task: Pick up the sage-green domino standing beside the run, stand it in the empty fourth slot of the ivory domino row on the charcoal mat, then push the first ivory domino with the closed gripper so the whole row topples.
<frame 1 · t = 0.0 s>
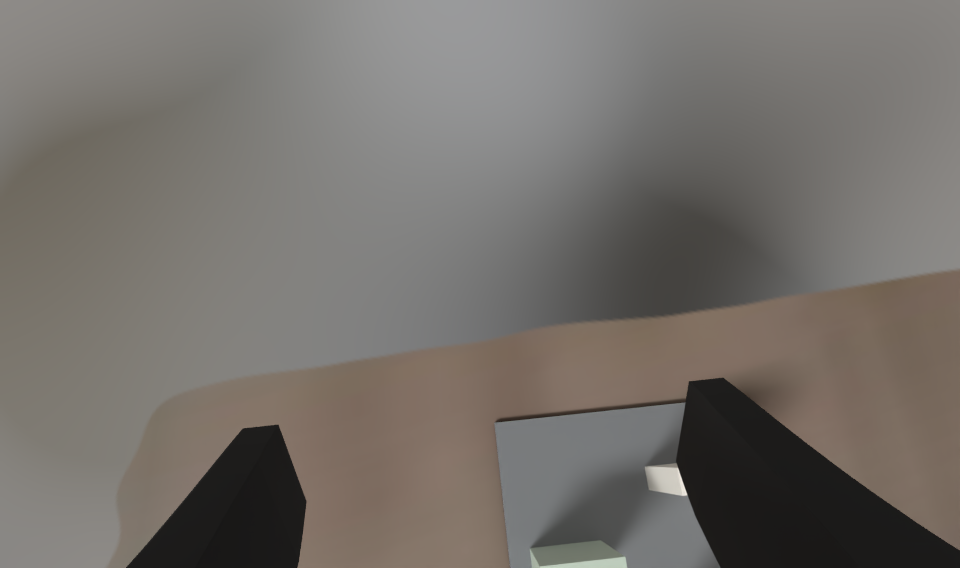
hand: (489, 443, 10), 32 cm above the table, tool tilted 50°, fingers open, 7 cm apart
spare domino: (567, 556, 38), resting on mat
domino 5: (680, 474, 40), resting on mat
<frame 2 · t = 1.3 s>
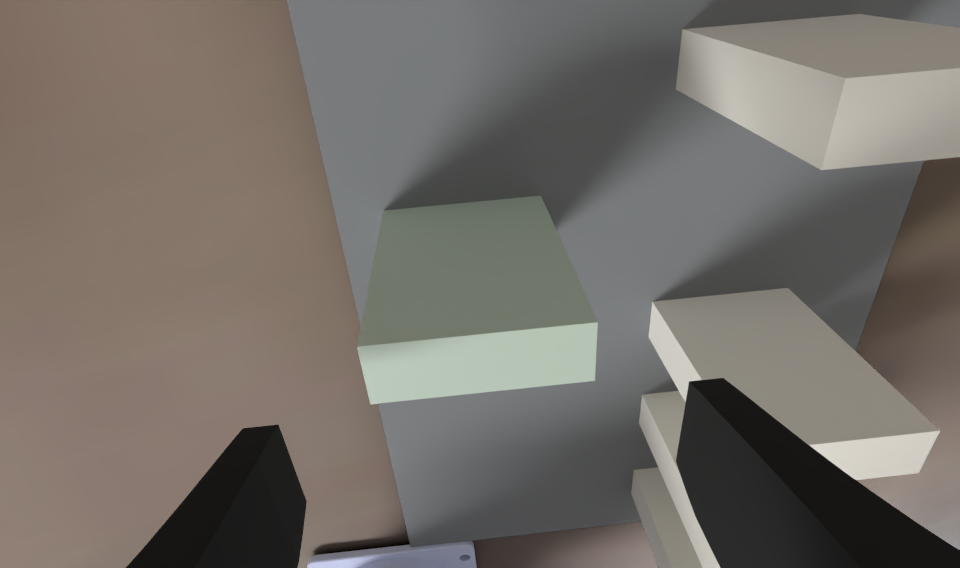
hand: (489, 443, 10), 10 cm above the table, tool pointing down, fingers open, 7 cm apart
domino 2: (700, 402, 23), resting on mat
mat: (622, 293, 20), on the table
domino 1: (686, 475, 25), resting on mat
domino 3: (716, 312, 20), resting on mat
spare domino: (464, 225, 18), resting on mat
domino 5: (765, 52, 16), resting on mat
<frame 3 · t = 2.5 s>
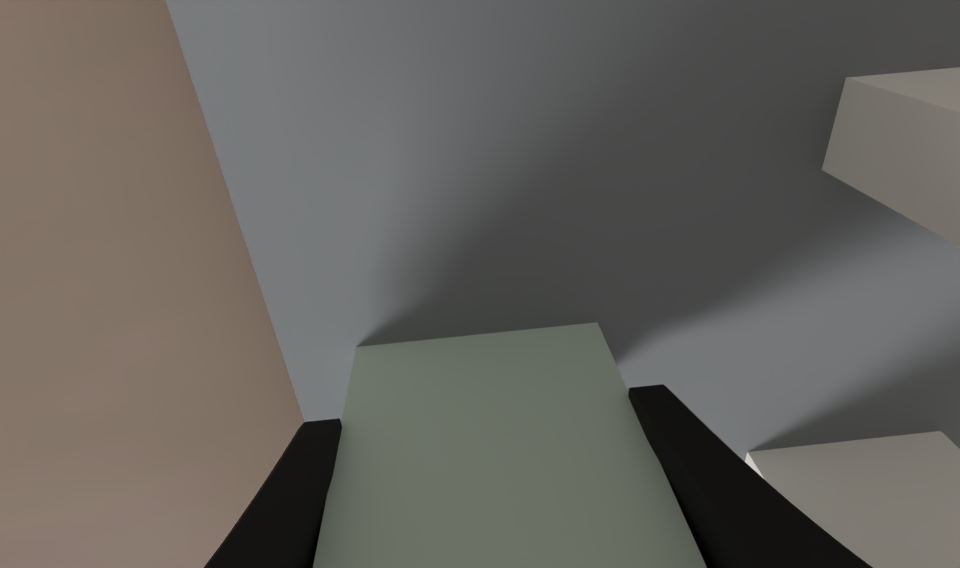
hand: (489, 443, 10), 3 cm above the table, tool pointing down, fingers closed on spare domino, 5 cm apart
mat: (702, 438, 14), on the table
domino 3: (836, 462, 14), resting on mat
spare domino: (480, 364, 12), resting on mat, touching gripper
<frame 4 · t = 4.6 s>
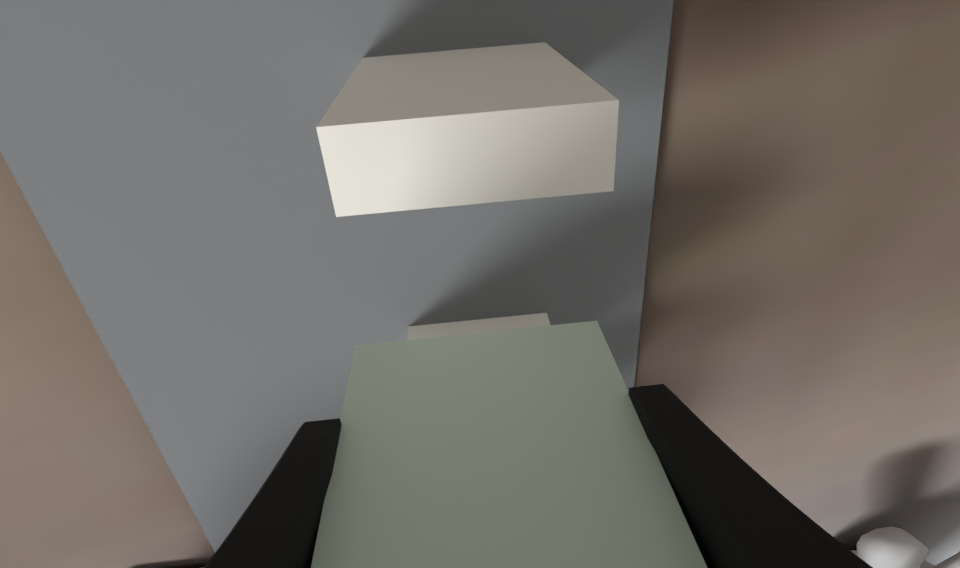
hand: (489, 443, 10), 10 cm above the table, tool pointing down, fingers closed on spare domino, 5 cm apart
bunny figurine: (838, 562, 31), on the table
mat: (379, 318, 20), on the table
domino 3: (479, 337, 20), resting on mat
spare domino: (479, 363, 12), point 7 cm above the table, touching gripper
domino 5: (456, 80, 15), resting on mat
when the fingers open (3 cm above the table, at t = 6.6 s): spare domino stays where it is, resting on mat.
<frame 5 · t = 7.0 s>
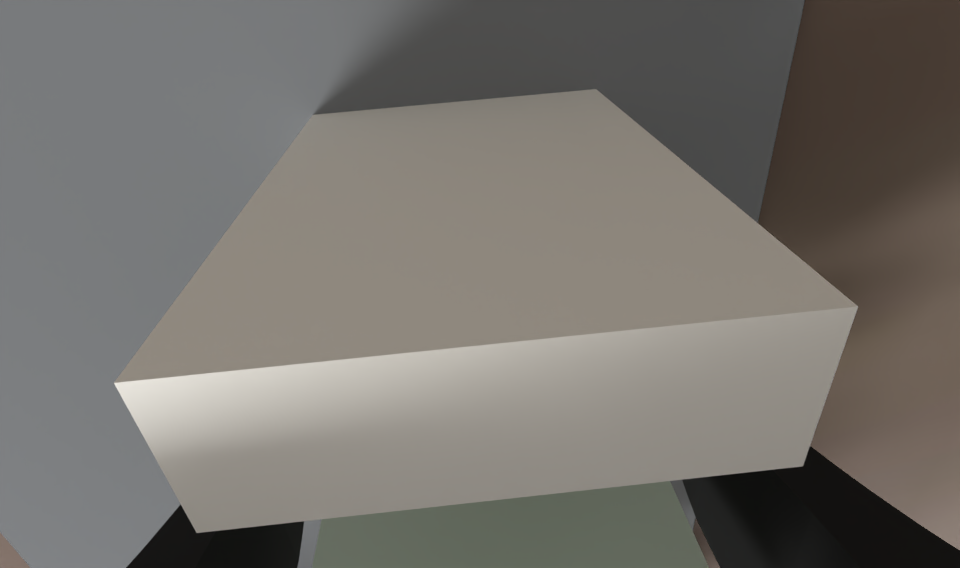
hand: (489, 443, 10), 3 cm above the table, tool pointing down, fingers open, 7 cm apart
mat: (354, 451, 14), on the table
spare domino: (477, 340, 12), resting on mat
domino 5: (459, 146, 10), resting on mat
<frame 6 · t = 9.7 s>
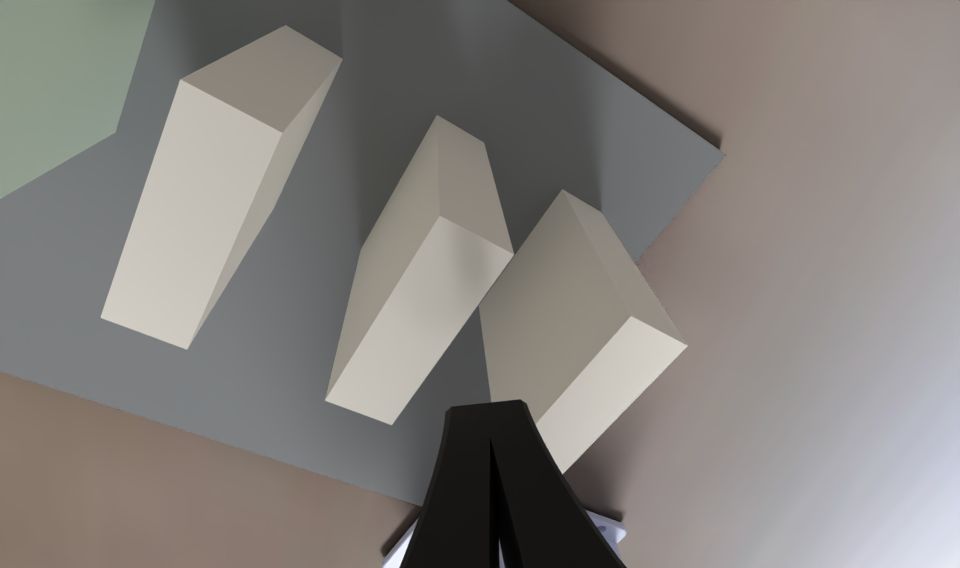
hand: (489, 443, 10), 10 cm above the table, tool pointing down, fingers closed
domino 2: (419, 198, 17), resting on mat
mat: (208, 201, 17), on the table
domino 1: (537, 260, 18), resting on mat
domino 3: (279, 123, 16), resting on mat
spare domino: (107, 32, 14), resting on mat
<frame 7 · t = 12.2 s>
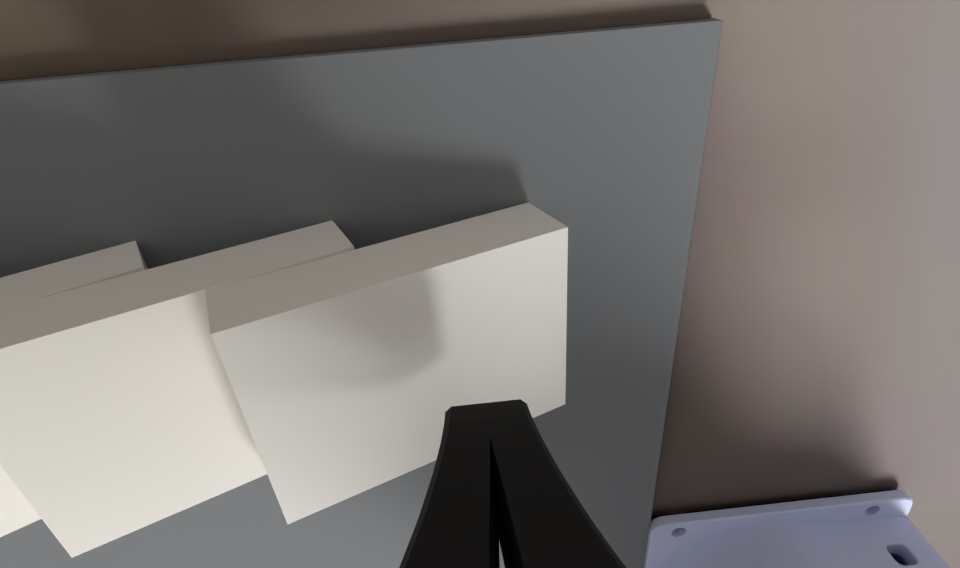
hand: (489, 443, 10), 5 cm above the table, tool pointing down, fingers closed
domino 2: (363, 325, 13), point 1 cm above the table, tilted 65°, touching mat
mat: (223, 418, 16), on the table
domino 1: (547, 308, 13), point 1 cm above the table, tilted 68°, touching mat
domino 3: (180, 344, 13), point 1 cm above the table, tilted 60°, touching mat
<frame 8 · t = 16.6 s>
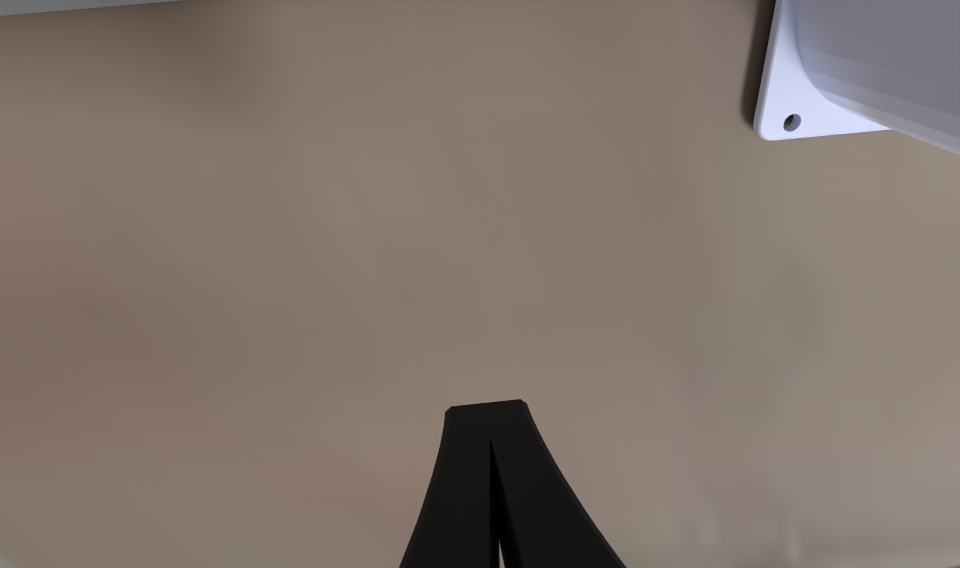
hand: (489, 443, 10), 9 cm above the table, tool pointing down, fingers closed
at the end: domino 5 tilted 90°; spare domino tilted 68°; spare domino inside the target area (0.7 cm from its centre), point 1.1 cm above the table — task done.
